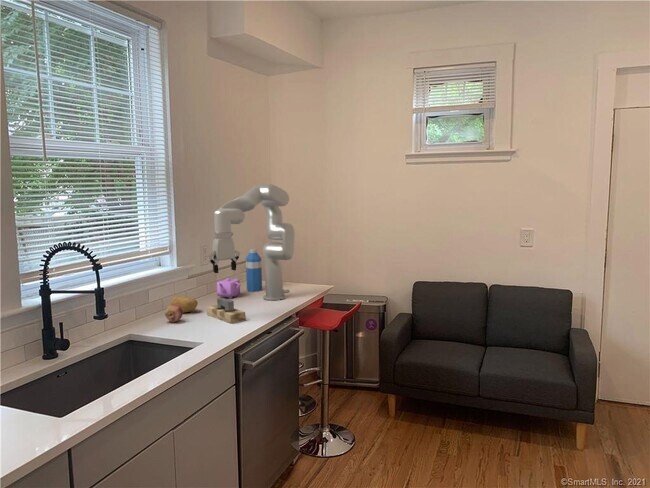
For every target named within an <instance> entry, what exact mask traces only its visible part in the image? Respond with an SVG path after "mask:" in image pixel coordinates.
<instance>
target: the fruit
mask: <svg viewBox="0 0 650 488" xmlns="http://www.w3.org/2000/svg"><path fill="white" fill-rule="evenodd" d="M164 316H165V318H166V319H167V320H168V321H169V322H171V323H177V322H179V320H181V318H182V317H183V313H182V309H181V307H180V306H178V305H172V304H170V305H169V306H168V307H167V308H166V309H165V312H164Z"/></svg>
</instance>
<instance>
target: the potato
mask: <svg viewBox="0 0 650 488" xmlns="http://www.w3.org/2000/svg"><path fill="white" fill-rule="evenodd" d="M170 303H171V305H178V306H180V307H181V309H182V314H183V313H191V312H193V311H194V310H195V309H197V307H198V300H196V298H193V297H188V296H180V295H178V296H174V297H172V299H171V302H170Z"/></svg>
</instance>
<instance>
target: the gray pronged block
mask: <svg viewBox="0 0 650 488" xmlns="http://www.w3.org/2000/svg"><path fill="white" fill-rule="evenodd" d="M216 301H217V302H216V303H217V304H216V305H217V306H218V309H219V310H221V309H225V312H232V311H234V309H235V307H234V305H235V304H234V301H235V300H232V299H229V298H228V299H227V298H226V297H224V298H221V297H219V298H217V299H216Z"/></svg>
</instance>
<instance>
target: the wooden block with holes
mask: <svg viewBox="0 0 650 488" xmlns="http://www.w3.org/2000/svg"><path fill="white" fill-rule="evenodd" d="M206 315H207V316H208V317H211V318H214V319H217V320H220V321H223V322H226V323H228V324H235V323H239V322H243V321H246V311H243V310H241V309H237V308H234V311H232V312H225V309H221V310H219V309H218V306H217V304H215V305H211V306H210V305H209V306H207V307H206Z"/></svg>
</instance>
